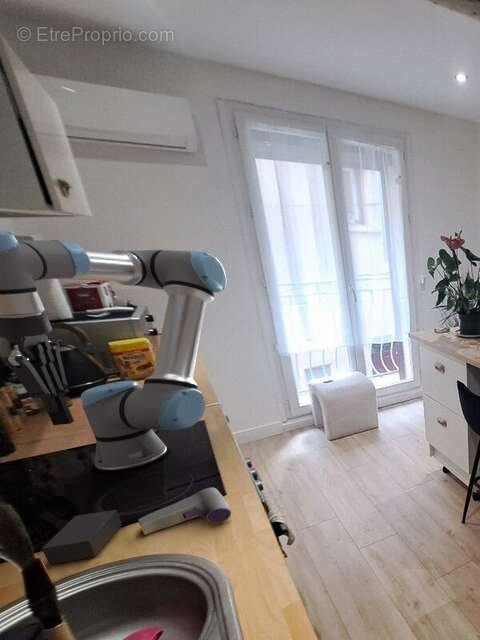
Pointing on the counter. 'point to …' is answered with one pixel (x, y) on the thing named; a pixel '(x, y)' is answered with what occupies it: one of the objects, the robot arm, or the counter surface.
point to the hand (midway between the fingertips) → (63, 423)
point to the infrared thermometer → (188, 511)
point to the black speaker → (82, 537)
